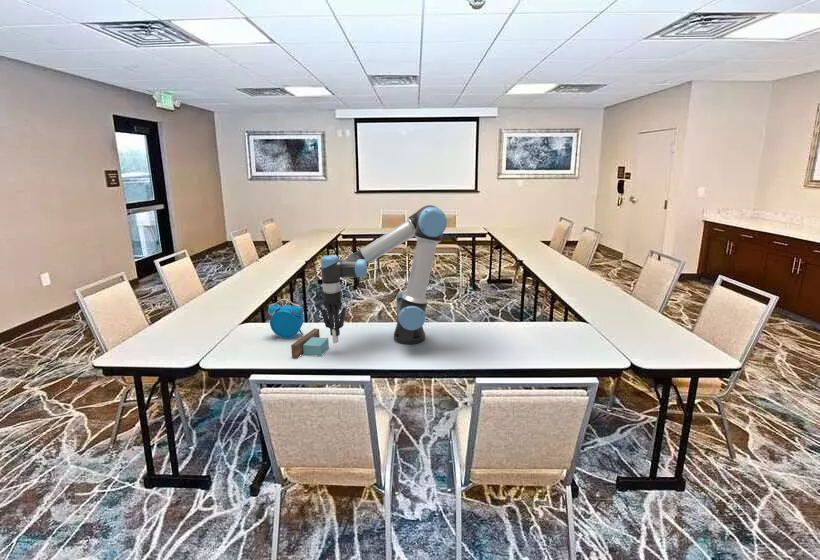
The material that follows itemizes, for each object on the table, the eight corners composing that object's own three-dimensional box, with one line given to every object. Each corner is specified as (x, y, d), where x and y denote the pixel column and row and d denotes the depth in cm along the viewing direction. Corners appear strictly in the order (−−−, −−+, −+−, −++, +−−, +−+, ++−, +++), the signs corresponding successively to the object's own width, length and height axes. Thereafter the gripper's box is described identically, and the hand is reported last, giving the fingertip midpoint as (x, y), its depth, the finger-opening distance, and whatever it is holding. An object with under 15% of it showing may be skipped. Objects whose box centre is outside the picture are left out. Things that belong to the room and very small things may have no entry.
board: (319, 340, 225) (319, 328, 223) (297, 358, 204) (296, 345, 203) (315, 340, 226) (314, 328, 224) (292, 358, 205) (291, 345, 204)
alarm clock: (308, 333, 234) (305, 295, 230) (301, 341, 224) (298, 300, 220) (275, 333, 236) (272, 294, 231) (267, 340, 226) (264, 300, 221)
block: (328, 348, 216) (328, 338, 215) (321, 356, 207) (320, 346, 205) (312, 347, 218) (311, 337, 216) (303, 355, 208) (303, 345, 207)
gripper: (349, 289, 206) (352, 340, 212) (321, 288, 210) (326, 338, 215) (342, 294, 199) (346, 346, 205) (314, 293, 203) (318, 344, 208)
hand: (335, 342), depth 210 cm, fingers closed
